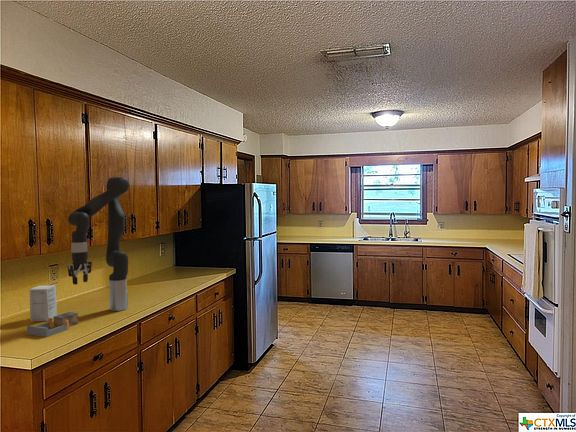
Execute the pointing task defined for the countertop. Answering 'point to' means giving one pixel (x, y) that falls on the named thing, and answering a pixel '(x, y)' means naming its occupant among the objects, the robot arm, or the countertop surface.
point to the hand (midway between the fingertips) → (80, 283)
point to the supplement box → (43, 303)
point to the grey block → (70, 316)
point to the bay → (46, 329)
